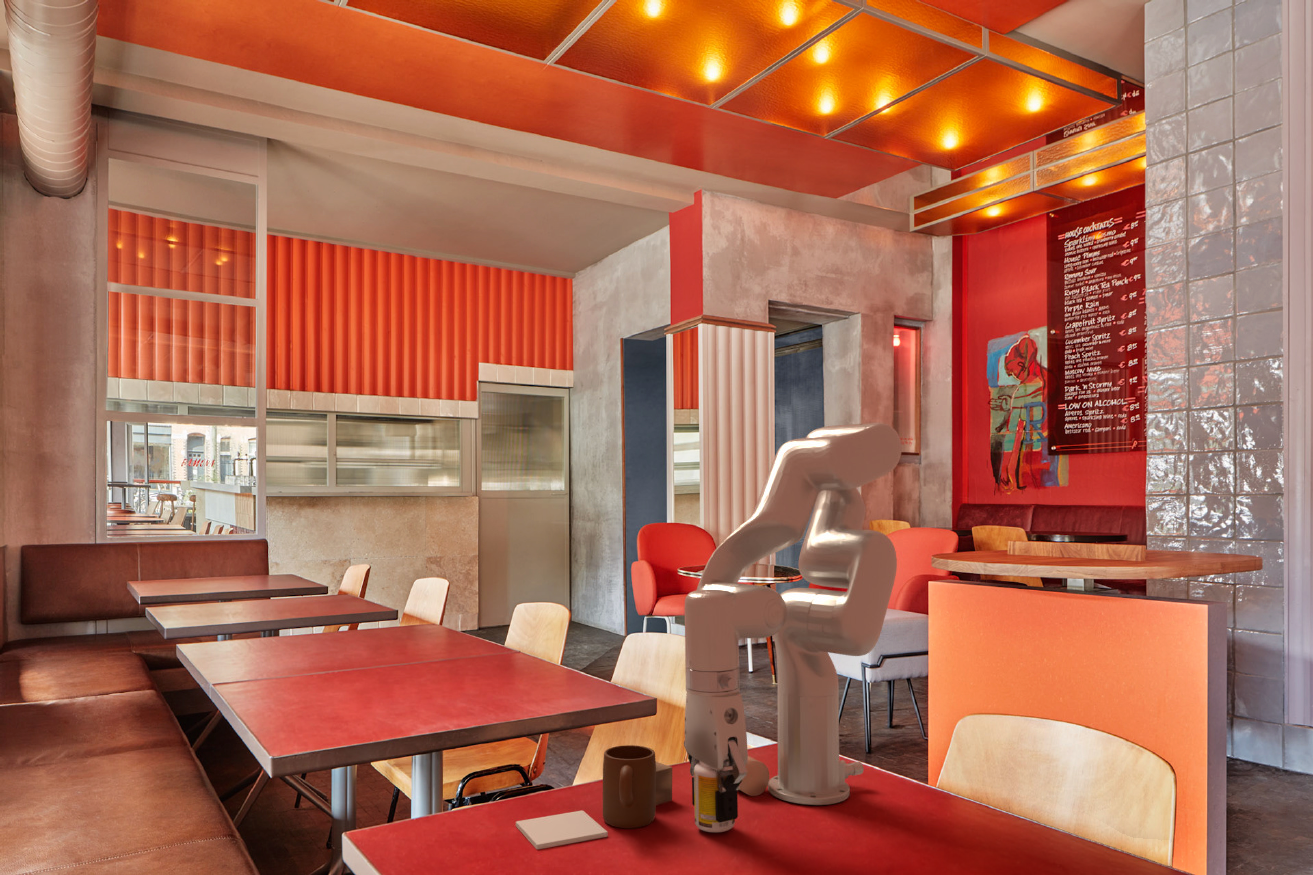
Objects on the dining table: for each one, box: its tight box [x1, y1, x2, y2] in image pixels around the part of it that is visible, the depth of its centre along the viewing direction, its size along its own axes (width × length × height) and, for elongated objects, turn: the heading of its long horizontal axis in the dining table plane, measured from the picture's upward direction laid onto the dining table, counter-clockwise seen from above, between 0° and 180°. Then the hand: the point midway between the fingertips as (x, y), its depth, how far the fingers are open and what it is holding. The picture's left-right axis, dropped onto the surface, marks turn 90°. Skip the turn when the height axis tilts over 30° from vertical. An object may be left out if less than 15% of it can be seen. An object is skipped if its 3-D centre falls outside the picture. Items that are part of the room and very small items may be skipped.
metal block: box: [656, 761, 673, 806], centre depth 129 cm, size 5×5×5 cm
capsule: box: [738, 755, 771, 797], centre depth 134 cm, size 5×7×5 cm
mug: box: [602, 744, 657, 829], centre depth 119 cm, size 12×8×9 cm, turn 178°
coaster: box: [515, 810, 608, 850], centre depth 116 cm, size 10×9×1 cm
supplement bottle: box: [693, 761, 736, 833], centre depth 117 cm, size 6×6×10 cm
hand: (714, 810), depth 117 cm, fingers closed on supplement bottle, 5 cm apart
